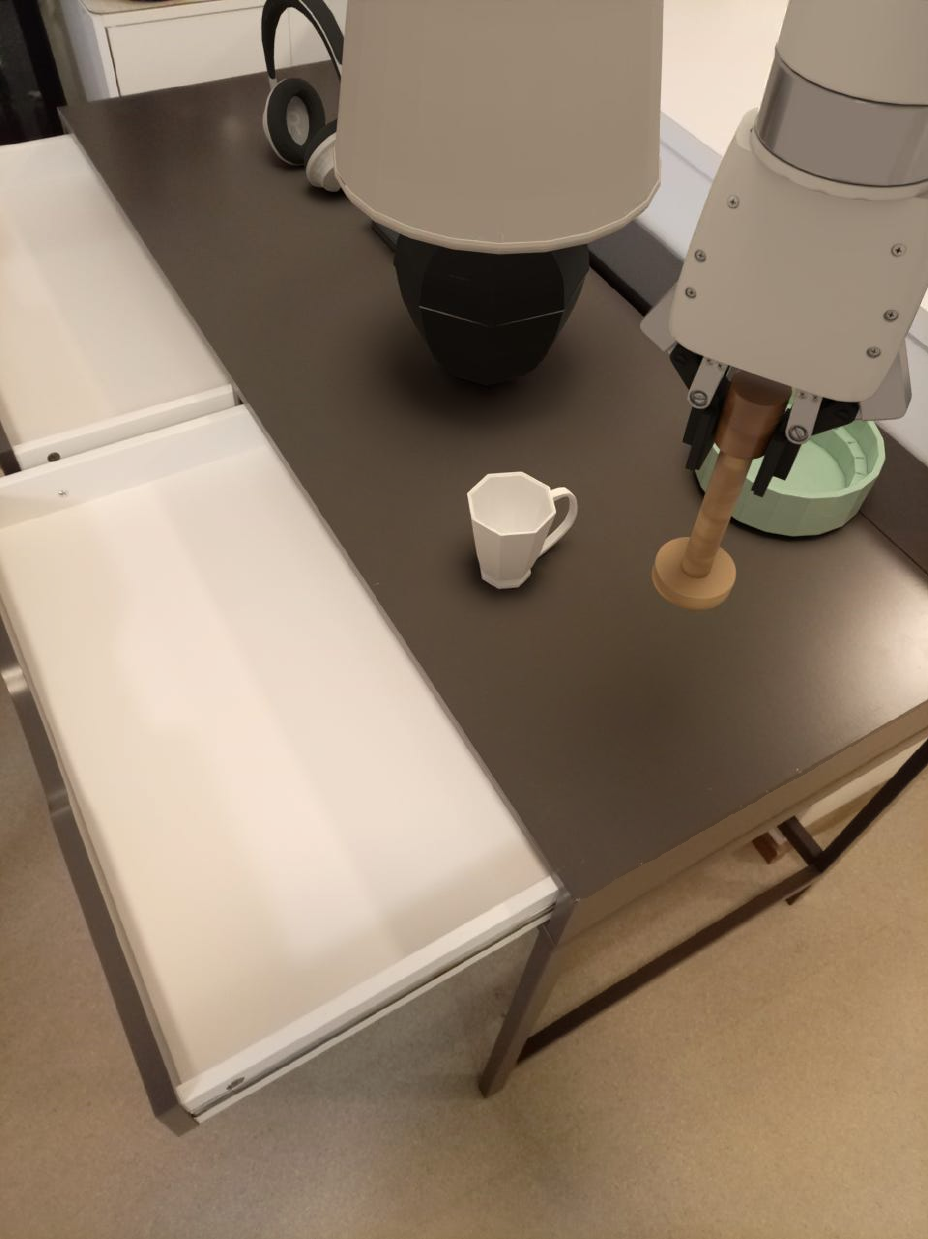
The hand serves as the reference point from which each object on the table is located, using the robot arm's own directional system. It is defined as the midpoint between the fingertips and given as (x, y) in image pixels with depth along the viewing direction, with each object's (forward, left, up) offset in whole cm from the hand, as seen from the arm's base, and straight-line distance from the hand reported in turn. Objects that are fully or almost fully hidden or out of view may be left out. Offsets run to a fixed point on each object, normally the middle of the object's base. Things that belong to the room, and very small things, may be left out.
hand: (732, 465), depth 48 cm
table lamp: (+29, -28, -24) cm, 47 cm away
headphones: (+65, -50, -24) cm, 85 cm away
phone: (+46, -48, -24) cm, 71 cm away
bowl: (-1, -28, -24) cm, 36 cm away
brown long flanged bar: (0, 0, -10) cm, 10 cm away
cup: (+14, -7, -24) cm, 29 cm away
